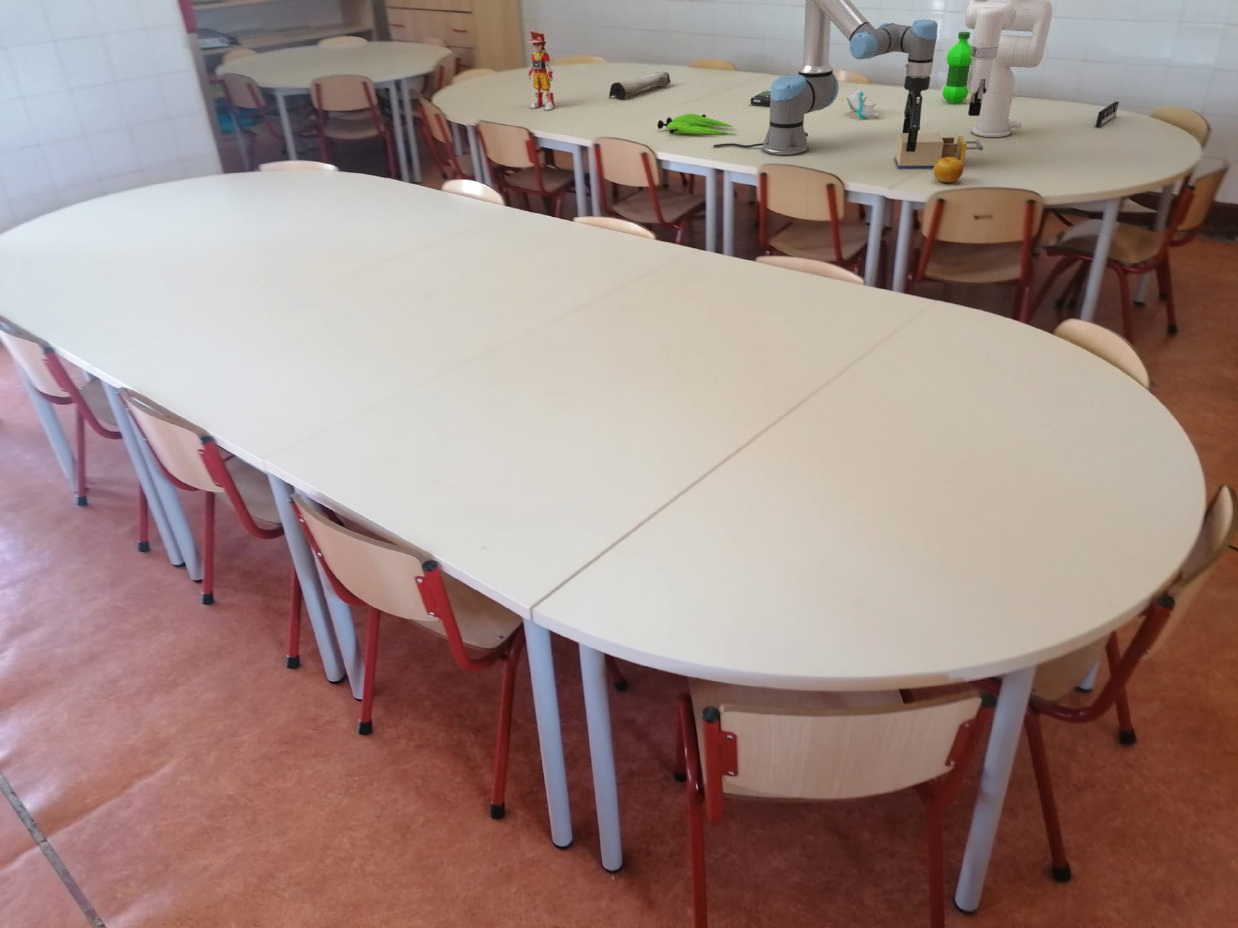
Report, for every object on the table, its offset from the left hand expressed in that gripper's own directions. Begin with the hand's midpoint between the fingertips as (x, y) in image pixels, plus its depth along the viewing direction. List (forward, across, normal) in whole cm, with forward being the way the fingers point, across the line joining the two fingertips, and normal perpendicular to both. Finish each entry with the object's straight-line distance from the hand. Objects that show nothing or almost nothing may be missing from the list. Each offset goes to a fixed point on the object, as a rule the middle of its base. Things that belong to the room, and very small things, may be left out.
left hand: (908, 145), depth 291 cm
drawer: (+5, 0, +14) cm, 15 cm away
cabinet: (+6, 0, +4) cm, 7 cm away
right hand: (-9, 0, +19) cm, 21 cm away
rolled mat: (+8, -108, -102) cm, 149 cm away
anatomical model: (+7, -63, -10) cm, 64 cm away
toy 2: (+7, -42, -71) cm, 83 cm away
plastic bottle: (+6, -80, +27) cm, 85 cm away
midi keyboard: (+5, -48, +74) cm, 89 cm away
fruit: (+5, +19, +10) cm, 22 cm away
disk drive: (+7, -86, -45) cm, 97 cm away
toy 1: (+8, -84, -141) cm, 164 cm away
